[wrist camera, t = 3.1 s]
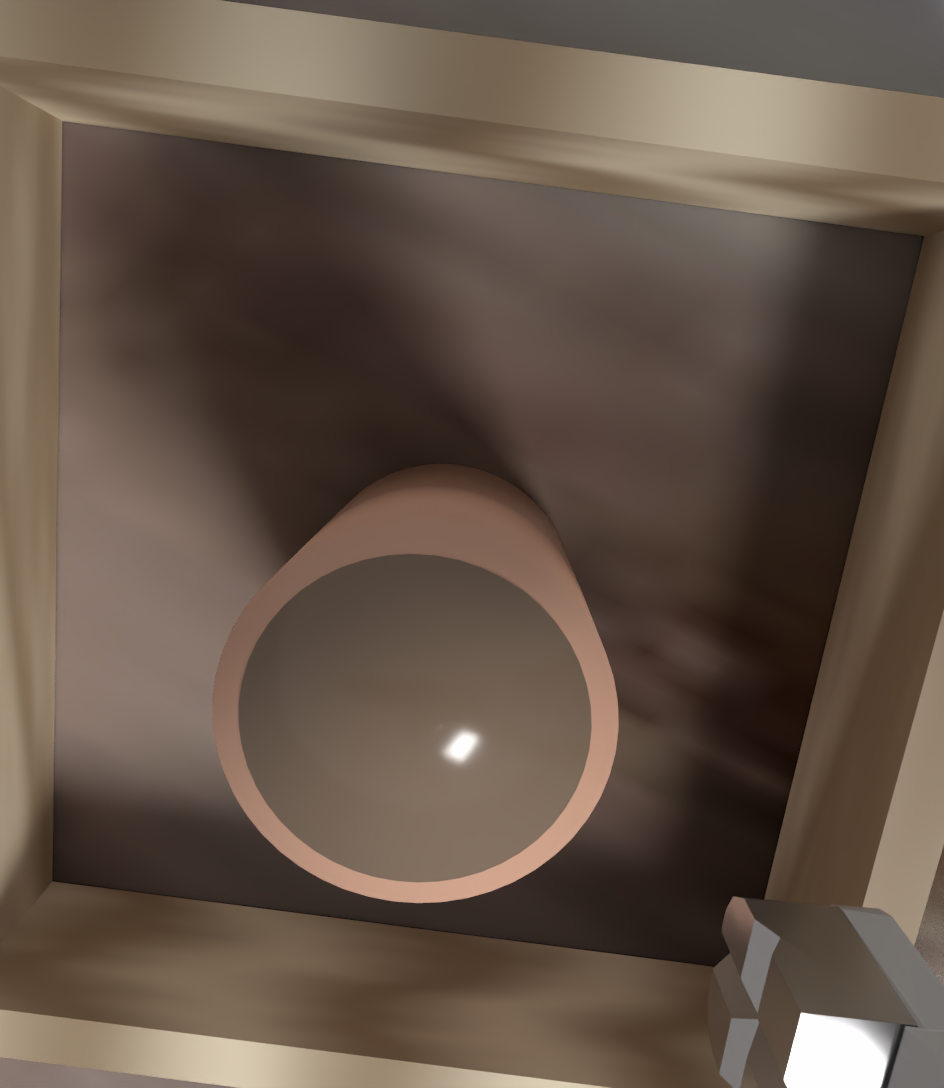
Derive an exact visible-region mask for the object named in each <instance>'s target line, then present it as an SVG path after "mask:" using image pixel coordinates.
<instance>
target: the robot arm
mask: <svg viewBox="0 0 944 1088" xmlns="http://www.w3.org/2000/svg"><path fill="white" fill-rule="evenodd" d="M721 932H722V934H723V937H724V939H725V942H726V944H727V947H728V949H729V951H730V953H729V954H728V955H727V956H726V957H725V958H724V959H723V960H722V961H721V962H719V963H718V964H717V965H716V966H715V967H714V968H713V970H712V976H711V981H710V987H709V992H708V1031H709V1037H710V1043H711V1049H712V1053H713V1056H714V1059H715V1062H716V1065H717V1068H718V1072H719V1074H720V1075H721V1076H722V1077H723V1078H724V1079H725V1080H726V1081H727V1082H728V1083H729V1084H730V1085H731V1086H732V1087H733V1088H944V985H943V984H942V983H941V981H940V980H939V979H938V977H937V976H936V975H935V973H934V972H933V971H932V969H931V968H930V967H929V965H928V964H927V963H926V961H925V960H924V959H923V957H922V956H921V955H920V953H919V952H918V951H917V949H916V948H915V947H914V945H913V944H912V943H911V941H910V940H909V939H908V937H907V936H906V935H905V933H904V932H903V930H902V929H901V928H900V926H899V925H898V924H897V922H896V921H895V920H894V918H893V917H892V916H891V915H889V914H887V913H886V912H884V911H883V910H881V909H879V908H867V907H854V906H841V905H830V906H828V905H818V904H807V903H797V902H786V901H776V900H766V899H755V898H745V897H734V896H733V898H732V899H731V901H730V903H729V905H728V907H727V909H726V912H725V916H724V921H723V925H722V929H721Z"/></svg>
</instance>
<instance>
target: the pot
mask: <svg viewBox="0 0 944 1088" xmlns="http://www.w3.org/2000/svg"><path fill="white" fill-rule="evenodd" d="M213 727H214V734H215V741H216V747H217V751H218V754H219V758H220V761H221V765H222V768H223V771H224V774H225V776H226V778H227V780H228V783H229V785H230V787H231V789H232V792H233V794H234V795H235V797H236V799H237V800H238V802H239V804H240V805H241V807H242V808H243V810H244V812H245V813H246V815H247V816H248V817H249V819H250V820H251V821H252V822H253V824H254V825H255V826H256V827H257V829H258V830H259V831H260V832H261V834H262V835H263V836H264V837H265V838H266V839H267V840H269V841H270V842H271V843H272V844H273V845H274V846H275V847H276V848H277V849H278V850H279V851H280V852H281V853H283V854H284V855H285V856H286V857H288V858H289V859H290V860H292V861H293V862H294V863H296V864H297V865H298V866H300V867H301V868H303V869H305V870H306V871H308V872H310V873H312V874H313V875H315V876H317V877H318V878H320V879H322V880H324V881H327V882H329V883H331V884H333V885H336V886H338V887H340V888H342V889H345V890H348V891H351V892H355V893H358V894H361V895H364V896H368V897H373V898H378V899H383V900H389V901H396V902H410V903H431V902H446V901H452V900H458V899H465V898H470V897H473V896H477V895H480V894H484V893H487V892H491V891H493V890H496V889H498V888H500V887H503V886H505V885H508V884H510V883H512V882H515V881H516V880H518V879H520V878H522V877H523V876H525V875H527V874H529V873H530V872H532V871H534V870H536V869H537V868H538V867H540V866H541V865H542V864H544V863H545V862H546V861H548V860H549V859H550V858H552V857H553V856H554V855H556V854H557V853H558V852H559V851H560V850H561V849H562V848H563V847H564V846H565V845H566V844H567V843H568V842H569V841H570V840H571V839H572V838H573V837H574V836H575V834H576V833H577V832H578V831H579V829H580V828H581V827H582V825H583V824H584V823H585V822H586V820H587V819H588V818H589V816H590V814H591V813H592V811H593V809H594V807H595V806H596V804H597V802H598V801H599V799H600V797H601V795H602V792H603V790H604V787H605V785H606V783H607V780H608V778H609V775H610V772H611V768H612V764H613V760H614V756H615V753H616V745H617V736H618V728H619V724H618V700H617V694H616V688H615V683H614V677H613V674H612V671H611V668H610V665H609V661H608V658H607V655H606V652H605V650H604V647H603V645H602V642H601V640H600V637H599V634H598V632H597V629H596V627H595V624H594V622H593V619H592V617H591V614H590V612H589V609H588V607H587V604H586V602H585V599H584V596H583V594H582V591H581V589H580V586H579V584H578V581H577V579H576V576H575V574H574V571H573V569H572V566H571V563H570V561H569V558H568V556H567V553H566V551H565V548H564V546H563V543H562V541H561V539H560V537H559V535H558V533H557V531H556V529H555V528H554V526H553V525H552V523H551V521H550V520H549V518H548V517H547V515H546V514H545V513H544V512H543V511H542V510H541V509H540V507H539V506H538V505H537V504H536V503H535V502H534V501H533V500H532V499H531V498H530V497H528V496H527V495H526V494H525V493H524V492H523V491H521V490H520V489H518V488H517V487H515V486H514V485H512V484H511V483H509V482H508V481H506V480H504V479H502V478H500V477H498V476H496V475H494V474H491V473H488V472H485V471H482V470H480V469H477V468H472V467H467V466H462V465H454V464H428V465H420V466H415V467H410V468H406V469H403V470H400V471H397V472H394V473H391V474H389V475H387V476H385V477H383V478H381V479H379V480H377V481H375V482H373V483H372V484H370V485H369V486H367V487H366V488H364V489H363V490H361V491H360V492H359V493H358V494H357V495H356V496H355V497H353V498H352V499H351V500H350V501H349V502H348V503H347V504H346V505H345V506H344V507H343V508H342V509H341V510H340V511H339V512H338V513H337V514H336V515H335V516H334V517H333V518H332V519H331V520H330V521H329V522H328V523H327V524H326V525H325V526H324V527H323V528H322V529H321V530H320V531H319V532H318V533H316V534H315V535H314V536H313V537H312V538H311V539H310V540H309V541H308V542H307V543H306V544H305V545H304V546H303V547H302V548H301V549H300V550H299V551H298V552H297V553H296V554H295V555H294V556H293V557H292V558H291V559H290V560H289V561H288V562H287V563H286V564H285V565H284V566H283V567H282V568H281V569H280V570H279V571H278V572H277V573H276V574H275V575H274V576H273V577H272V578H271V579H270V580H269V581H268V582H267V583H266V584H265V585H264V586H263V587H262V588H261V589H260V590H259V592H258V593H257V594H256V595H255V596H254V597H253V599H252V600H251V601H250V602H249V603H248V605H247V606H246V607H245V609H244V611H243V612H242V614H241V615H240V617H239V618H238V620H237V622H236V623H235V625H234V626H233V628H232V631H231V633H230V635H229V637H228V640H227V642H226V644H225V646H224V649H223V651H222V655H221V658H220V662H219V665H218V669H217V672H216V678H215V685H214V693H213Z"/></svg>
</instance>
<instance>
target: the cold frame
mask: <svg viewBox="0 0 944 1088" xmlns="http://www.w3.org/2000/svg"><path fill="white" fill-rule="evenodd" d="M62 121H67V122H75V123H82V124H90V125H97V126H105V127H112V128H119V129H127V130H134V131H142V132H149V133H157V134H164V135H172V136H179V137H187V138H194V139H202V140H209V141H217V142H224V143H232V144H239V145H247V146H254V147H262V148H269V149H276V150H284V151H291V152H299V153H306V154H314V155H321V156H329V157H336V158H344V159H351V160H359V161H366V162H374V163H381V164H389V165H396V166H404V167H411V168H419V169H426V170H433V171H441V172H448V173H456V174H463V175H471V176H478V177H486V178H493V179H501V180H508V181H516V182H523V183H531V184H538V185H546V186H553V187H561V188H568V189H576V190H583V191H590V192H598V193H605V194H613V195H620V196H628V197H635V198H643V199H650V200H658V201H665V202H673V203H680V204H688V205H695V206H703V207H710V208H718V209H725V210H733V211H740V212H747V213H755V214H762V215H770V216H777V217H785V218H792V219H800V220H807V221H815V222H822V223H830V224H837V225H845V226H852V227H860V228H867V229H875V230H882V231H890V232H897V233H904V234H912V235H919V236H924V239H923V243H922V248H921V252H920V256H919V260H918V264H917V268H916V272H915V277H914V281H913V285H912V289H911V293H910V297H909V301H908V306H907V310H906V314H905V318H904V322H903V326H902V330H901V335H900V339H899V343H898V347H897V351H896V355H895V359H894V364H893V368H892V372H891V376H890V380H889V384H888V388H887V393H886V397H885V401H884V405H883V409H882V413H881V417H880V422H879V426H878V430H877V434H876V438H875V442H874V446H873V451H872V455H871V459H870V463H869V467H868V471H867V475H866V479H865V484H864V488H863V492H862V496H861V500H860V504H859V508H858V513H857V517H856V521H855V525H854V529H853V533H852V537H851V542H850V546H849V550H848V554H847V558H846V562H845V566H844V571H843V575H842V579H841V583H840V587H839V591H838V595H837V600H836V604H835V608H834V612H833V616H832V620H831V624H830V629H829V633H828V637H827V641H826V645H825V649H824V653H823V658H822V662H821V666H820V670H819V674H818V678H817V682H816V687H815V691H814V695H813V699H812V703H811V707H810V711H809V716H808V720H807V724H806V728H805V732H804V736H803V740H802V745H801V749H800V753H799V757H798V761H797V765H796V769H795V774H794V778H793V782H792V786H791V790H790V794H789V798H788V803H787V807H786V811H785V815H784V819H783V823H782V827H781V832H780V836H779V840H778V844H777V848H776V852H775V856H774V861H773V865H772V869H771V873H770V877H769V881H768V885H767V890H766V894H765V898H764V899H766V900H776V901H786V902H797V903H807V904H818V905H828V906H830V905H841V906H854V907H867V908H879V909H881V910H883V911H884V912H886V913H887V914H889V915H891V916H892V917H893V918H894V920H895V921H896V922H897V924H898V925H899V926H900V928H901V929H902V930H903V932H904V933H905V935H906V936H907V937H908V939H909V940H910V941H911V943H912V944H913V945H914V944H915V941H916V938H917V934H918V931H919V927H920V924H921V921H922V917H923V914H924V910H925V907H926V904H927V900H928V897H929V893H930V890H931V887H932V883H933V880H934V876H935V873H936V869H937V866H938V863H939V859H940V856H941V852H942V849H943V846H944V98H942V97H935V96H927V95H920V94H912V93H905V92H898V91H890V90H883V89H875V88H868V87H860V86H853V85H846V84H838V83H831V82H823V81H816V80H808V79H801V78H794V77H786V76H779V75H771V74H764V73H756V72H749V71H742V70H734V69H727V68H719V67H712V66H704V65H697V64H690V63H682V62H675V61H667V60H660V59H652V58H645V57H638V56H630V55H623V54H615V53H608V52H600V51H593V50H586V49H578V48H571V47H563V46H556V45H548V44H541V43H534V42H526V41H519V40H511V39H504V38H496V37H489V36H482V35H474V34H467V33H459V32H452V31H444V30H437V29H430V28H422V27H415V26H407V25H400V24H392V23H385V22H378V21H370V20H363V19H355V18H348V17H340V16H333V15H326V14H318V13H311V12H303V11H296V10H289V9H281V8H274V7H266V6H259V5H251V4H244V3H237V2H229V1H222V0H0V1057H4V1058H12V1059H20V1060H28V1061H36V1062H44V1063H51V1064H59V1065H67V1066H75V1067H83V1068H90V1069H98V1070H106V1071H114V1072H122V1073H130V1074H137V1075H145V1076H153V1077H161V1078H169V1079H176V1080H184V1081H192V1082H200V1083H208V1084H216V1085H223V1086H231V1087H239V1088H733V1087H732V1086H731V1085H730V1084H729V1083H728V1082H727V1081H726V1080H725V1079H724V1078H723V1077H722V1076H721V1075H720V1074H719V1072H718V1068H717V1065H716V1062H715V1059H714V1056H713V1053H712V1049H711V1043H710V1037H709V1031H708V992H709V987H710V981H711V976H712V970H713V968H714V967H712V966H704V965H696V964H689V963H681V962H673V961H665V960H658V959H650V958H642V957H634V956H627V955H619V954H611V953H603V952H596V951H588V950H580V949H572V948H565V947H557V946H549V945H541V944H534V943H526V942H518V941H510V940H503V939H495V938H487V937H479V936H472V935H464V934H456V933H448V932H441V931H433V930H425V929H417V928H410V927H402V926H394V925H386V924H379V923H371V922H363V921H355V920H348V919H340V918H332V917H324V916H317V915H309V914H301V913H293V912H286V911H278V910H270V909H262V908H254V907H247V906H239V905H231V904H223V903H216V902H208V901H200V900H192V899H185V898H177V897H169V896H161V895H154V894H146V893H138V892H130V891H123V890H115V889H107V888H99V887H92V886H84V885H76V884H68V883H61V882H53V881H52V876H53V799H54V723H55V647H56V570H57V494H58V417H59V341H60V265H61V188H62Z"/></svg>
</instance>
